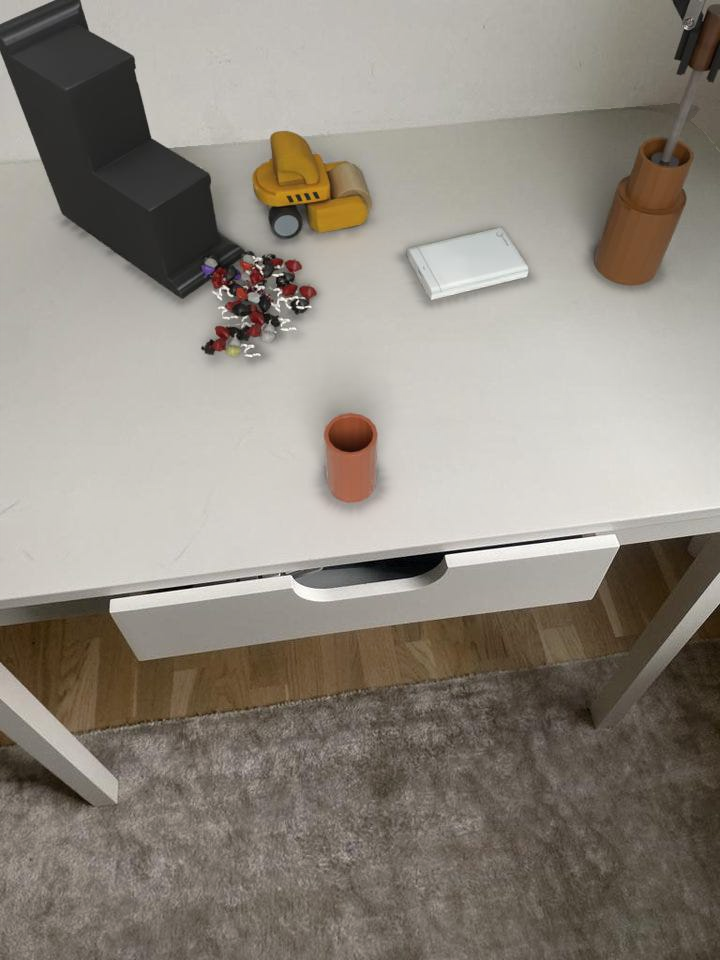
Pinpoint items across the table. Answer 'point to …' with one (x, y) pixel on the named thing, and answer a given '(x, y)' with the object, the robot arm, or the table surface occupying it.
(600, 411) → the table surface
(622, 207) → the flask
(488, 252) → the hard drive
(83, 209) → the black stepped block
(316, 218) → the toy roller
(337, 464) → the holder
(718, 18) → the brush
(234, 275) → the toy collection
